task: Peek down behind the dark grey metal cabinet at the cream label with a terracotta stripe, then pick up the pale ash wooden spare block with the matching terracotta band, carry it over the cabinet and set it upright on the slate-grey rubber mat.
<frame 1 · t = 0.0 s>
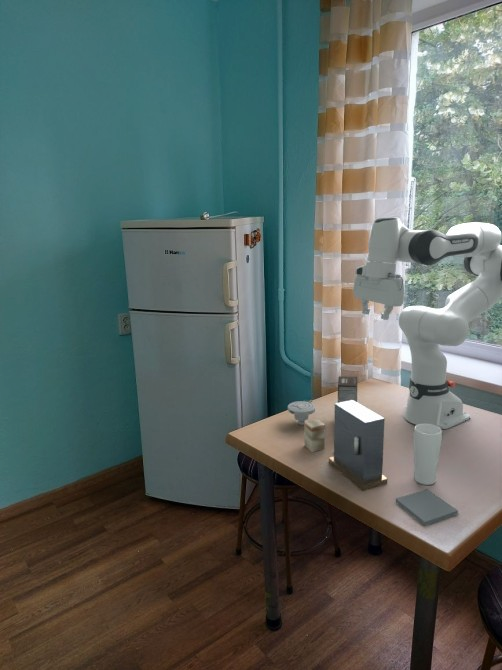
hand: (374, 316, 142), 39 cm above the table, tool pointing down, fingers open, 8 cm apart
showerhead: (302, 423, 160), on the table
cabinet: (356, 472, 128), on the table
spare block: (314, 447, 143), on the table
mat: (425, 508, 111), on the table
drinking glass: (424, 481, 123), on the table
coffee box: (346, 425, 158), on the table
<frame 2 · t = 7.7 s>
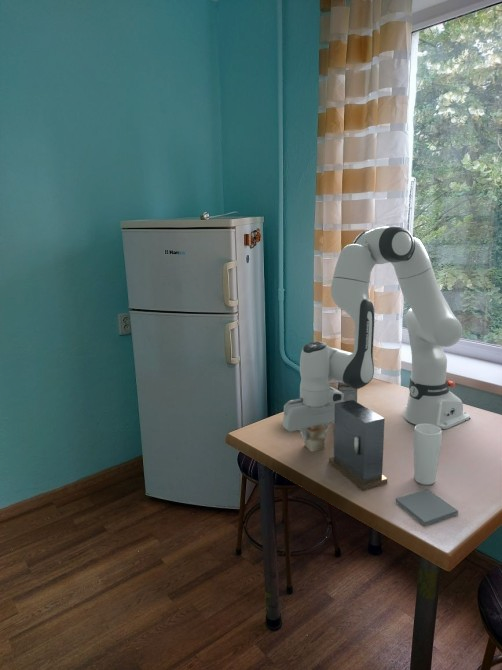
hand: (314, 437, 142), 3 cm above the table, tool pointing down, fingers closed on spare block, 4 cm apart
spare block: (314, 447, 143), on the table, touching gripper
everything else where it was.
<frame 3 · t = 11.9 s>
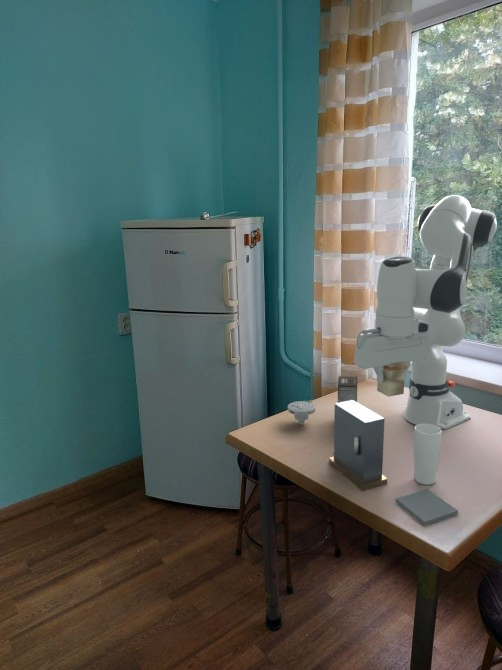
hand: (391, 380, 114), 29 cm above the table, tool pointing down, fingers closed on spare block, 4 cm apart
spare block: (390, 392, 114), point 26 cm above the table, touching gripper
everything else where it was.
when the fingers open (6 cm above the table, at t = 16.0 s): spare block drops 1 cm, resting on mat.
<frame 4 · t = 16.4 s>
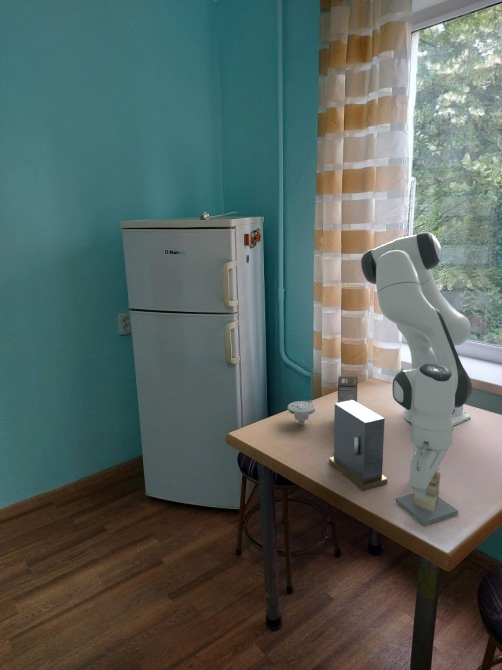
hand: (427, 487, 110), 6 cm above the table, tool pointing down, fingers open, 8 cm apart
spare block: (425, 504, 111), point 1 cm above the table, touching mat
everything else where it was.
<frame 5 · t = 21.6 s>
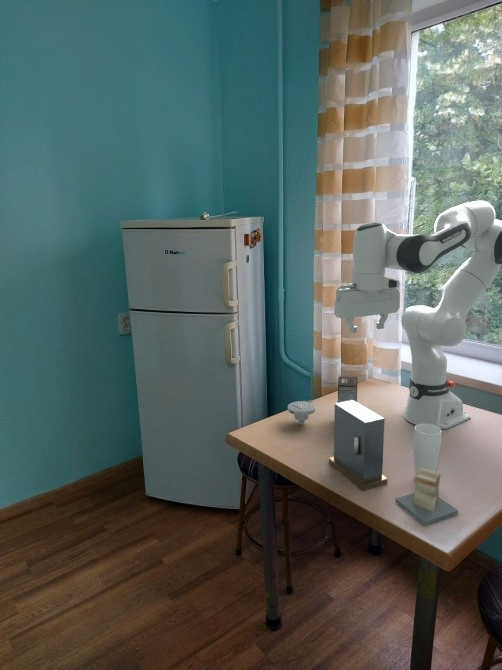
hand: (366, 330, 132), 37 cm above the table, tool pointing down, fingers open, 8 cm apart
nothing on the table moved.
at the end: spare block inside the target area on the mat (0.1 cm from its centre), point 1.0 cm above the mat's base; spare block tilted 0°; the gripper is holding nothing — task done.
